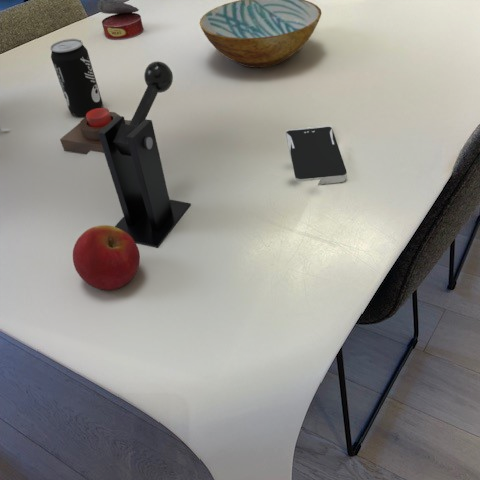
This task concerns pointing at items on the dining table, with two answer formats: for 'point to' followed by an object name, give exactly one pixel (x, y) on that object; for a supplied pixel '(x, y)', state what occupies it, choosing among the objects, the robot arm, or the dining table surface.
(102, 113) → the button
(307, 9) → the bowl
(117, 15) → the canned food
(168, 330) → the dining table surface
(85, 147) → the button block
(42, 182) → the dining table surface
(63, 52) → the beverage can
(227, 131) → the dining table surface
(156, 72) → the black ball lever
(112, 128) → the black lever stand
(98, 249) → the apple
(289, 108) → the dining table surface
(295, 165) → the smartphone
